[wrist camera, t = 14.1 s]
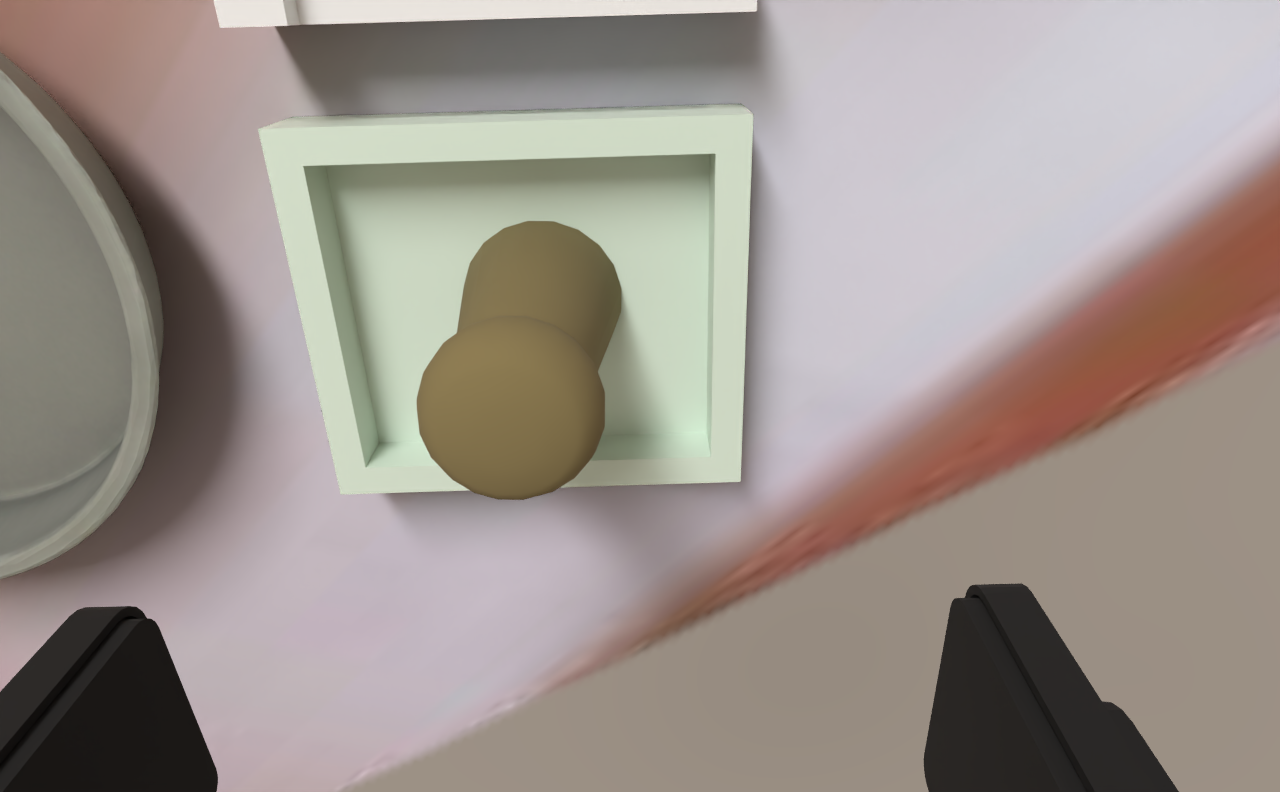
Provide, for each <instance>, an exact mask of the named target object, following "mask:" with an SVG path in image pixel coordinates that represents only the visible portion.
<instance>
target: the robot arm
mask: <svg viewBox="0 0 1280 792" xmlns="http://www.w3.org/2000/svg"><path fill="white" fill-rule="evenodd" d="M924 771H925V778H926V783H927V787H928V790H929V792H1179V791H1178V790H1177V788H1176V787H1175V785H1174V784H1173V782H1172V781H1171V779H1170V778H1169V776H1168V775H1167V773H1166V772H1165V771H1164V769H1163V767H1162V766H1161V764H1160V763H1159V762H1158V760H1157V758H1156V757H1155V756H1154V754H1153V752H1152V751H1151V749H1150V748H1149V746H1148V745H1147V743H1146V742H1145V740H1144V739H1143V737H1142V736H1141V734H1140V733H1139V731H1138V730H1137V729H1136V727H1135V725H1134V724H1133V722H1132V721H1131V720H1130V719H1129V718H1128V716H1127V715H1126V714H1125V713H1124V711H1123V710H1122V709H1120V708H1119V707H1117V706H1116V705H1114V704H1113V703H1111V702H1102V701H1101V700H1100V698H1099V696H1098V695H1097V693H1096V692H1095V690H1094V689H1093V687H1092V685H1091V684H1090V682H1089V681H1088V679H1087V678H1086V676H1085V675H1084V673H1083V672H1082V670H1081V668H1080V667H1079V665H1078V664H1077V662H1076V661H1075V659H1074V657H1073V656H1072V655H1071V653H1070V651H1069V650H1068V648H1067V647H1066V645H1065V643H1064V642H1063V640H1062V639H1061V637H1060V636H1059V634H1058V632H1057V631H1056V629H1055V628H1054V626H1053V625H1052V623H1051V622H1050V620H1049V618H1048V617H1047V616H1046V614H1045V612H1044V611H1043V609H1042V608H1041V606H1040V604H1039V603H1038V601H1037V600H1036V598H1035V597H1034V595H1033V594H1032V592H1031V591H1030V590H1029V589H1028V587H1027V586H1025V585H1023V584H989V585H972V586H970V587H969V589H968V590H967V593H966V596H965V598H956V599H954V600H953V601H952V604H951V608H950V613H949V619H948V624H947V630H946V635H945V641H944V647H943V652H942V658H941V664H940V669H939V675H938V681H937V686H936V692H935V697H934V703H933V708H932V714H931V720H930V725H929V731H928V737H927V743H926V748H925V753H924ZM217 784H218V775H217V771H216V767H215V765H214V763H213V760H212V758H211V755H210V753H209V750H208V748H207V745H206V743H205V740H204V738H203V735H202V733H201V730H200V728H199V725H198V723H197V720H196V718H195V716H194V713H193V711H192V708H191V706H190V703H189V701H188V698H187V696H186V693H185V691H184V688H183V686H182V683H181V681H180V678H179V676H178V674H177V671H176V669H175V666H174V664H173V661H172V659H171V656H170V654H169V651H168V649H167V646H166V644H165V641H164V639H163V636H162V634H161V631H160V629H159V627H158V625H157V624H156V622H155V621H153V620H152V619H147V618H146V616H145V615H144V613H143V611H141V610H140V609H139V608H137V607H131V606H125V607H85V608H82V609H80V610H77V611H76V612H74V613H73V614H72V615H71V616H70V617H69V618H68V619H67V620H66V621H65V622H64V623H63V624H62V625H61V626H60V627H59V628H58V630H57V631H56V632H55V633H54V634H53V635H52V636H51V637H50V638H49V639H48V640H47V642H46V643H45V644H44V645H43V646H42V647H41V648H40V649H39V650H38V651H37V652H36V653H35V655H34V656H33V657H32V658H31V659H30V660H29V661H28V662H27V663H26V664H25V665H24V667H23V668H22V669H21V670H20V671H19V672H18V673H17V674H16V675H15V676H14V677H13V679H12V680H11V681H10V682H9V683H8V684H7V685H6V686H5V687H4V688H3V689H2V691H1V692H0V792H216V791H217Z"/></svg>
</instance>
